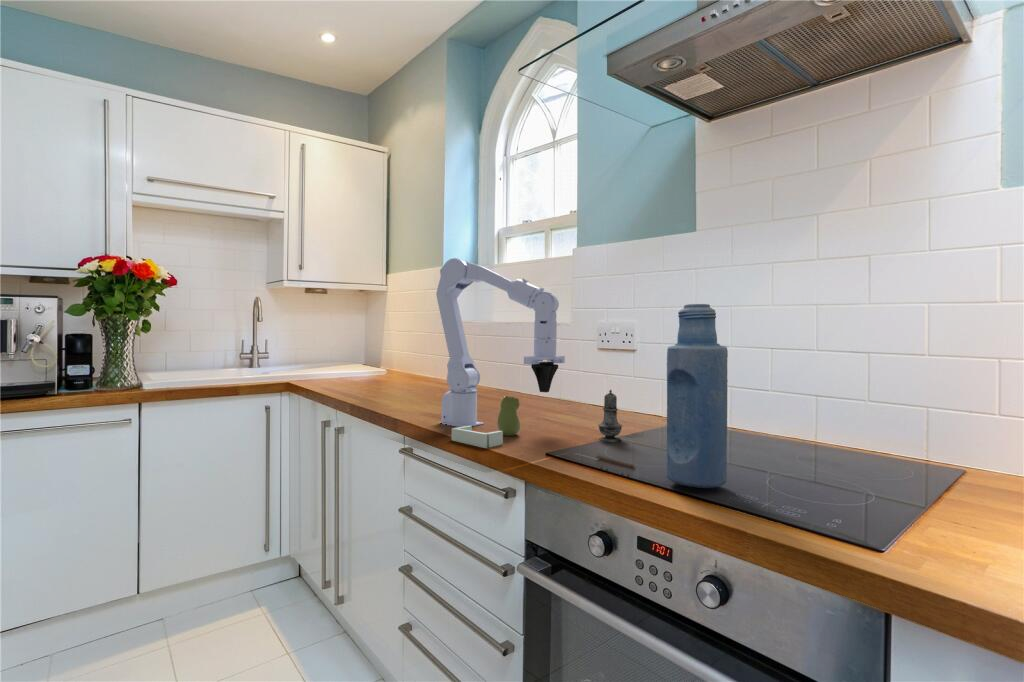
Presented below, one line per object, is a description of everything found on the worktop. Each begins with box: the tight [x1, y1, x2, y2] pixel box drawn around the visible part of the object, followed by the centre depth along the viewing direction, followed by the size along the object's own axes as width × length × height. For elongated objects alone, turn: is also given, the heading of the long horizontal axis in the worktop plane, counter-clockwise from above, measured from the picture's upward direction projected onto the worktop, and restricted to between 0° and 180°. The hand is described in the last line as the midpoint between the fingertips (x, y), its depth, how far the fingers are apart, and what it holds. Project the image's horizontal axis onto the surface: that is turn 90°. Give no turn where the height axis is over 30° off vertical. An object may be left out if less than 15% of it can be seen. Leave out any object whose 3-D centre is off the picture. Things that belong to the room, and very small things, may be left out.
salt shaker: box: [597, 389, 623, 443], centre depth 127 cm, size 6×6×12 cm
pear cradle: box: [451, 426, 504, 449], centre depth 122 cm, size 11×6×3 cm, turn 49°
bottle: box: [666, 303, 729, 489], centre depth 91 cm, size 10×10×30 cm
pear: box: [497, 395, 521, 437], centre depth 130 cm, size 6×5×10 cm
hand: (544, 392), depth 137 cm, fingers closed
